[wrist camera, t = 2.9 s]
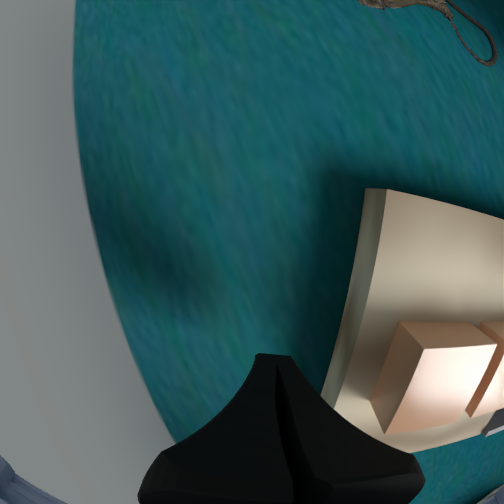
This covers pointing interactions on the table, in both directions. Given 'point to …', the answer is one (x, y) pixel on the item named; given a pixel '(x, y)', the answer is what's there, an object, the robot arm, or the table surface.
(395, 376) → the tile
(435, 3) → the hacksaw
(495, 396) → the tile
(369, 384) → the plate
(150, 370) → the table surface
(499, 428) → the tray
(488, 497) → the coffee can
